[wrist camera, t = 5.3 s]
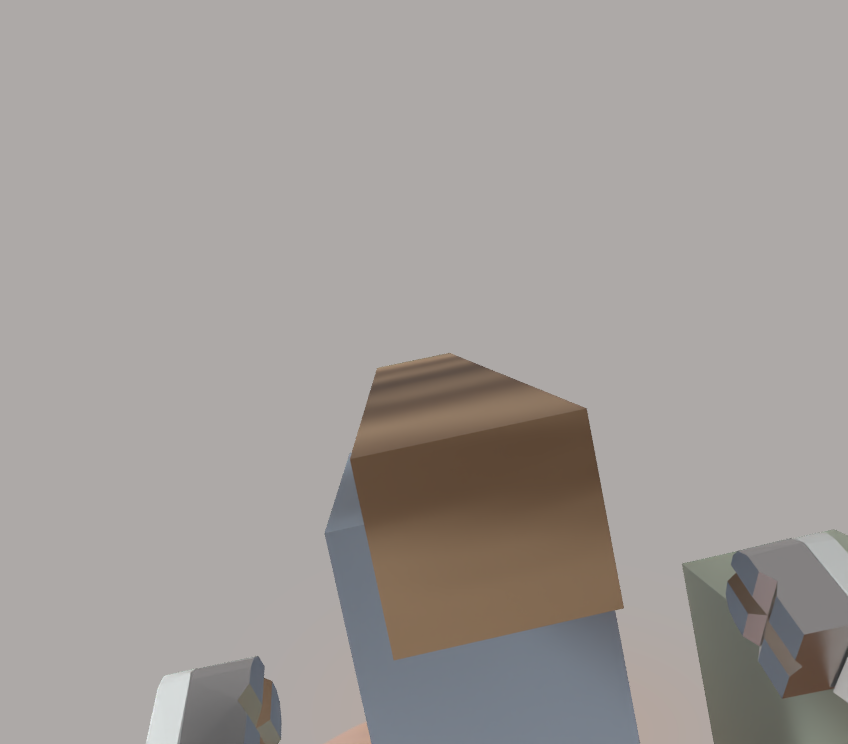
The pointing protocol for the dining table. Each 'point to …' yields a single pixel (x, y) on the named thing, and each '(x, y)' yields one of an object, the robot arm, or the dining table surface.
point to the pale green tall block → (751, 672)
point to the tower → (477, 667)
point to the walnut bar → (479, 506)
